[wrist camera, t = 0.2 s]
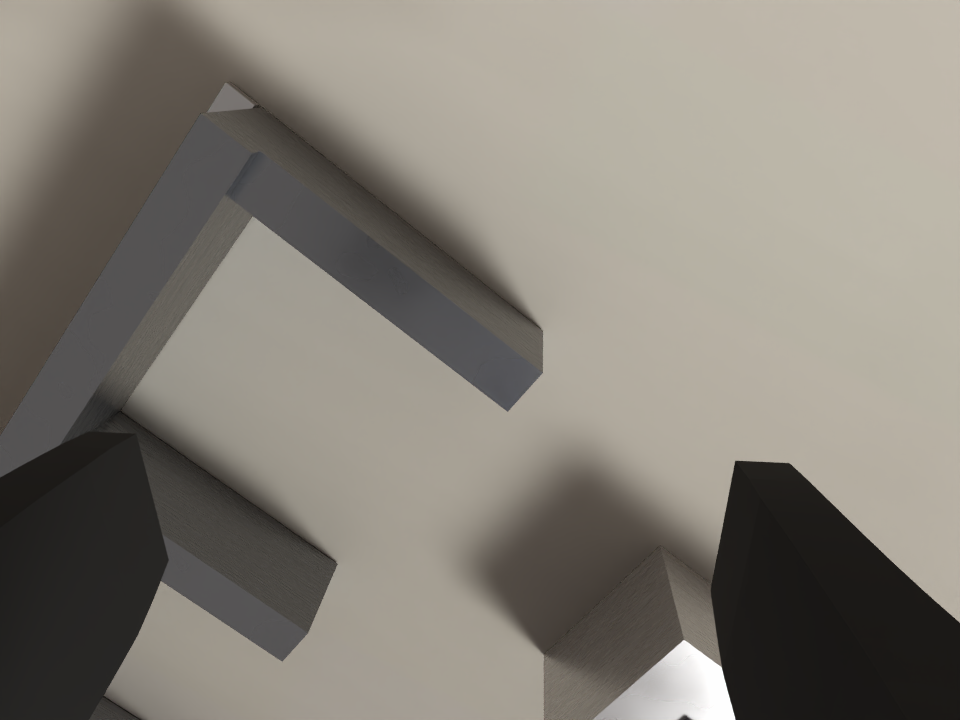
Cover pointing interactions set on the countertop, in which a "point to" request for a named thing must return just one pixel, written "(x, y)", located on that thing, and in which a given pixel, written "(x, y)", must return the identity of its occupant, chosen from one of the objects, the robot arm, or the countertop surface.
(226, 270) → the countertop surface
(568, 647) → the block
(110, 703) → the bracket
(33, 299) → the countertop surface
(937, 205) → the countertop surface
